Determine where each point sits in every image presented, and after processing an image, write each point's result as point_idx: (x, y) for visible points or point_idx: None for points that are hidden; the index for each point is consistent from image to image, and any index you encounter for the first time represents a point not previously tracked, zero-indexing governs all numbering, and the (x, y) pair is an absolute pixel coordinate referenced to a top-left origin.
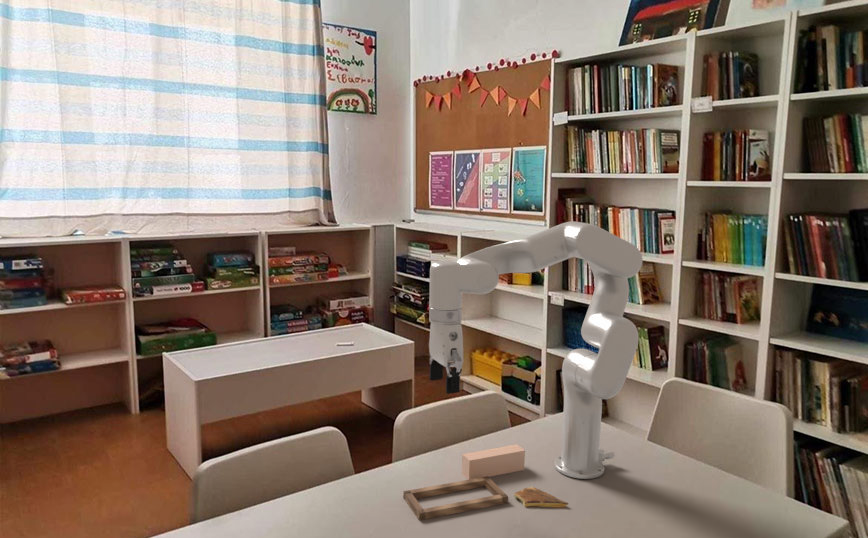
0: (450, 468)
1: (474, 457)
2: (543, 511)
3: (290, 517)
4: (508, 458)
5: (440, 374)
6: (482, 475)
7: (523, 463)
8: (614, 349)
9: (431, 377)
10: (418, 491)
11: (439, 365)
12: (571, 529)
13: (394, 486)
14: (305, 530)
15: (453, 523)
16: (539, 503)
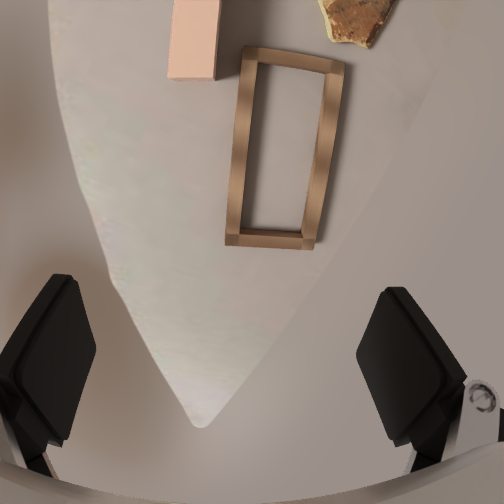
0: (142, 95)
1: (201, 56)
2: (391, 34)
3: (214, 377)
4: None
5: (65, 319)
6: (217, 46)
7: None
8: None
9: (90, 364)
10: (238, 219)
11: (36, 393)
12: (446, 46)
13: (175, 238)
14: (252, 370)
15: (348, 196)
16: (380, 27)
